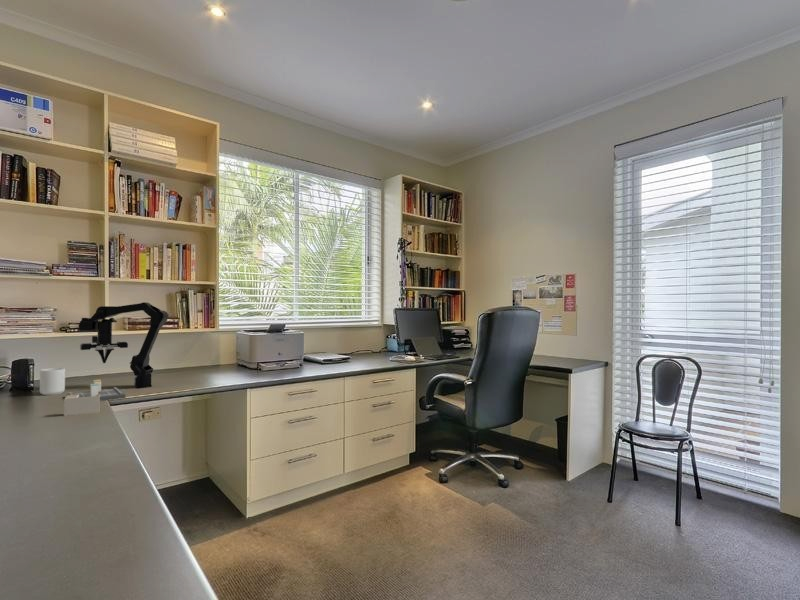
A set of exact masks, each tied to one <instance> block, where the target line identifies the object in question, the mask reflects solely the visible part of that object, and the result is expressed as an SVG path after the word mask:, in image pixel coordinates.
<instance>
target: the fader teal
mask: <svg viewBox="0 0 800 600" xmlns="http://www.w3.org/2000/svg"><path fill="white" fill-rule="evenodd" d="M89 389H90V390H89V391H90V395H91V396H96V395H98V383H94V382H93V383H90V388H89Z"/></svg>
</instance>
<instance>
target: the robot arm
mask: <svg viewBox="0 0 800 600" xmlns="http://www.w3.org/2000/svg"><path fill="white" fill-rule="evenodd" d="M141 311H142V312H144V313H145V314H146V315H147V316H148V317H150V319H149V328H148V331H147V333H146V336H145V338H144V340H143V343H142V345H141V348H140V350H139V352H138V354H136V355H135V354H134V355H133V356H132V358H131V361H130V362H129V368H130V370H131V371H132V372H133V374H134V376H135V377H134V378H133V384H134V385H133V386H134V387H135V388H136V389H141V388H149V387H150V388H151V387H153V385H152V373H153V371H154V368H153V367H152V365H150V354H151V352H152V349H153V346H154V344H155V342H156V340H157V337H158V335H159V333H160V331H161V329H162V328H163V326H164V325H165V324H166V322H167V321H168V319H169V314H168V312H167V310H166V311H165V310H161V308H159V307H156V306H154V305H153V304H152V303H150V302H148V301H147V302H140V303H133V304H126V305H119V306H118V305H116V306H112V305H111V306H109V305H107V306H103V305H101V306H98V307H97V308H96V311H95V313H94V314H93V315H92V316H91V317H81V320H80V321H79V324H78V330H79V331H80V332H82V333H83V332H84V333H85V332H90V333H91V332H96V331H97V335H92V336H91V342H86V343H85V342H84V343H83V342H82V343H81V344H80V345H79V350H81V351H86V350H87V351H89V350H91V349H94V351H96V352H98V354H99V356H100V359H101V361H102V364H106V362H107V361H108V358H109V356H110V354H111V352H112V351H114V350H115V349H114V348H120V349H126V348H128V347H129V343H128V342H127V341H116V342H114V343H112V341H113V340H112V339H113V323H117V322H118V320H117V319H115V318H114V317H115V316H118V315H121V314H126V313H127V314H128V313H133V312H141ZM104 349H105V351H104Z"/></svg>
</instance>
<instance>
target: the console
mask: <svg viewBox="0 0 800 600" xmlns="http://www.w3.org/2000/svg"><path fill="white" fill-rule="evenodd" d="M100 392H101V393H100ZM99 393H100V395H99V396H100V402H102V401H101V400H103V401H108V400H107V399H111V400H115V399H116V400H117V399H125V398H126V394H125V393H124V392H123V391H122V390H121V389H119V387H113V388H105V389H101V391H99V392H98V394H99ZM68 395H79V397H93V396H91V395H90V390H88V391H87V390H86V391H79V392H72V391H69V392H68V393H65V397H66V396H68ZM79 397H78V398H79Z"/></svg>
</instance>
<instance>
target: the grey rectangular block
mask: <svg viewBox="0 0 800 600" xmlns="http://www.w3.org/2000/svg"><path fill="white" fill-rule="evenodd" d="M94 383H98V392H99V391H101V390H102V380H101V379H93V384H94Z"/></svg>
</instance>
